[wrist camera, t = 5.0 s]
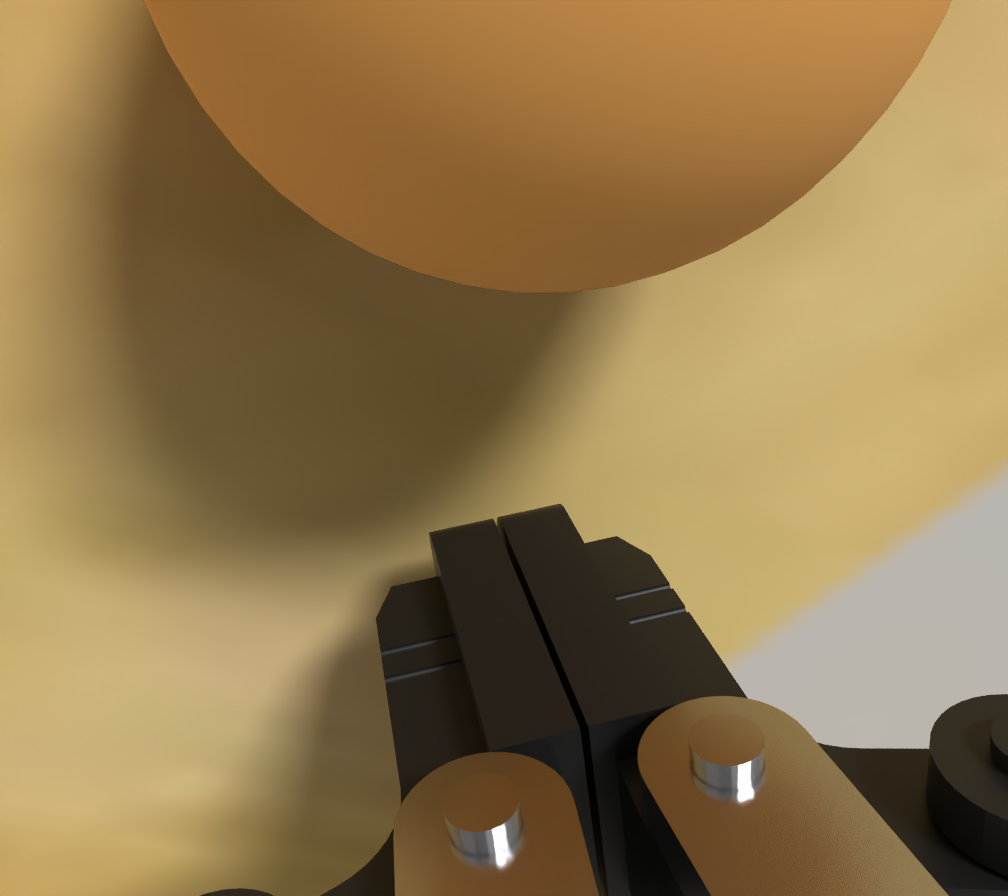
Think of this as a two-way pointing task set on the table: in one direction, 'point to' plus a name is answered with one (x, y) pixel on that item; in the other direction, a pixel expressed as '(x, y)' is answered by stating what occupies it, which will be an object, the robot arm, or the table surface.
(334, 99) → the ball
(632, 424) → the table surface
